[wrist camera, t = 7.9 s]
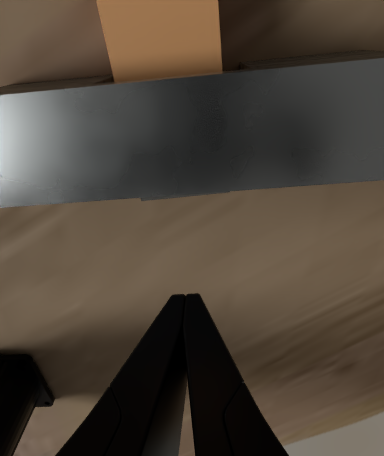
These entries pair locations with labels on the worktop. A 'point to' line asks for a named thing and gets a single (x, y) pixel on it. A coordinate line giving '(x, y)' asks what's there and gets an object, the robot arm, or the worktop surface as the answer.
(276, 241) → the worktop surface
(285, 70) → the housing
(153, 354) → the robot arm
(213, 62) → the plug
